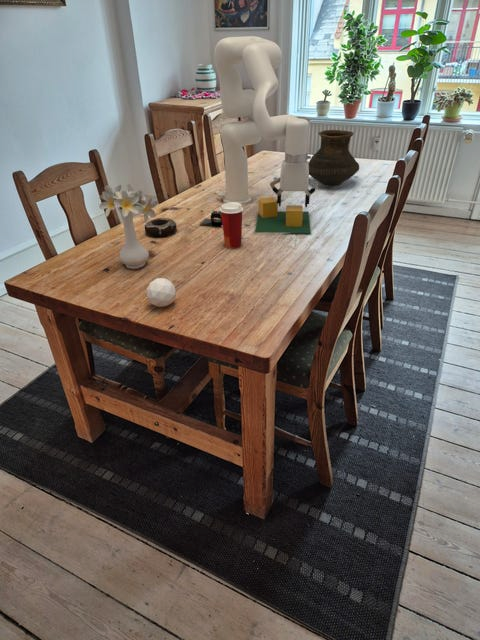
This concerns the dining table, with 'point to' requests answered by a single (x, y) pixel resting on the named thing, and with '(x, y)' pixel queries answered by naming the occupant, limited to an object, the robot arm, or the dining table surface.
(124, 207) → the flower vase
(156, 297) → the geometric ball
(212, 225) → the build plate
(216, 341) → the dining table surface
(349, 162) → the ceramic pot
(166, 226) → the donut
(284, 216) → the towel
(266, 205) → the yellow block
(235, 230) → the paper cup
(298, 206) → the yellow block
